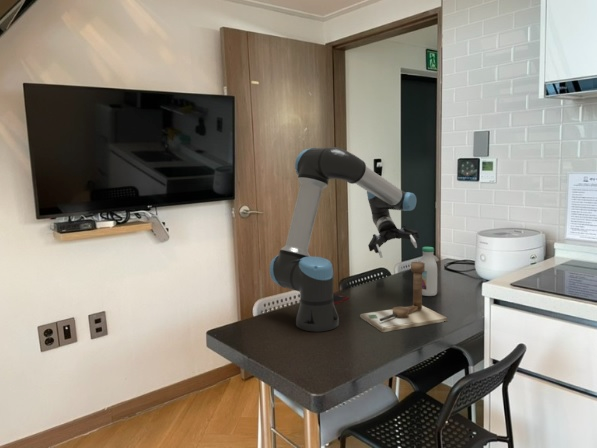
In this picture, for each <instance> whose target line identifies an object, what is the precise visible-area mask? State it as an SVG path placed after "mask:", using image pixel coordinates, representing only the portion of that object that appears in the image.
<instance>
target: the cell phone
mask: <svg viewBox="0 0 597 448" xmlns="http://www.w3.org/2000/svg"><path fill="white" fill-rule="evenodd" d="M349 298H350V297H349V296H346V295H341V294H336V293H333V303H334V306H335V305H337V304H339V303H341V302H344V301H347V300H349Z"/></svg>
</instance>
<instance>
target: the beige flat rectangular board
mask: <svg viewBox="0 0 597 448" xmlns="http://www.w3.org/2000/svg"><path fill="white" fill-rule="evenodd" d="M405 307H406V308H407V307H408V306H405ZM392 314H393V308H391V309H385V310H377V311H371V312H366V313H360V315H359V316H360V318H361V319H362V320H363V321H365V322H367V323H368V324H370V325H371V326H372V327H373V328H375V329H377V330H378V331H380V332H381V333H387V332H391V331H397V330H403V329H409V328H415V327H421V326H426V325H434V324H439V323H444V321H445V322H448V317H446V316H445V315H443V314H441V313H438V312H436V311H434V310H432V309H431V308H428V307H426V306H424V305H422V309H418V310H415V311H412V312H410V313H409V315H408V316H407V317H396V316H394V317H391V318H389V319H386V320H383V321H380V319H381V318H384V317H386V316H389V315H392Z"/></svg>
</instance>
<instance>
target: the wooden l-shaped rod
mask: <svg viewBox="0 0 597 448" xmlns="http://www.w3.org/2000/svg"><path fill="white" fill-rule="evenodd" d="M410 272H412V273H413V278H412V279H413V282H412V284H413V285H412V305H410V306H394V307H392V309H393V314H392V315H389V316H386V317H384V318H381V319H380V321H383V320H386V319H389V318H391V317H394V316H396V317H407V316H408V315H409V313H410V312H412V311H415V310H418V309H422V306H423V295H422V273H423V272H425V263H423V262H420V261H413V262H411V263H410ZM406 307H407V308H406Z"/></svg>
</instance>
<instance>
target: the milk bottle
mask: <svg viewBox="0 0 597 448" xmlns="http://www.w3.org/2000/svg"><path fill="white" fill-rule="evenodd" d="M421 250H422V251H421V252H422V257H421V259H420V261H419V262H423V263H425V272H423V273H422V296H424V297H425V296H426V297H433V296H436V295H437V294H438V264H437V262H436V259H435V256H434V253H435V248H434V247H432V246H423V247H422V249H421Z"/></svg>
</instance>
